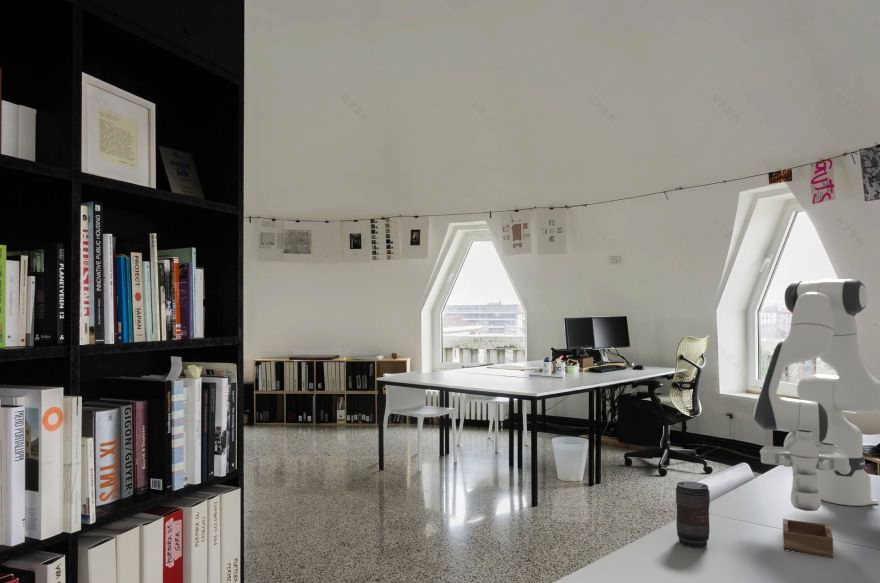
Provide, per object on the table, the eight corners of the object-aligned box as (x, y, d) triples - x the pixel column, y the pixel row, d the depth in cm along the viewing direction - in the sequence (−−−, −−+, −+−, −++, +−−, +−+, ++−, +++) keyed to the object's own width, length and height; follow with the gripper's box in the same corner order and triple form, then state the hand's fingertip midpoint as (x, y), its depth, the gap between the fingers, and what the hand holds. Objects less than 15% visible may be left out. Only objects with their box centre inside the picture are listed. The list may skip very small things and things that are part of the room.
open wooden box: (783, 535, 171) (783, 518, 171) (829, 542, 166) (829, 525, 166) (784, 550, 161) (783, 532, 161) (833, 558, 156) (832, 539, 156)
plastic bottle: (825, 514, 160) (823, 433, 161) (795, 513, 161) (794, 432, 162) (815, 507, 166) (814, 429, 167) (786, 505, 168) (785, 428, 168)
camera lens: (710, 540, 168) (709, 482, 168) (709, 551, 160) (709, 490, 160) (677, 535, 171) (677, 479, 171) (675, 546, 163) (674, 486, 164)
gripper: (759, 438, 181) (758, 448, 168) (845, 445, 171) (851, 457, 159) (760, 461, 180) (759, 472, 168) (846, 469, 171) (851, 482, 159)
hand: (804, 465), depth 163 cm, fingers closed on plastic bottle, 6 cm apart
